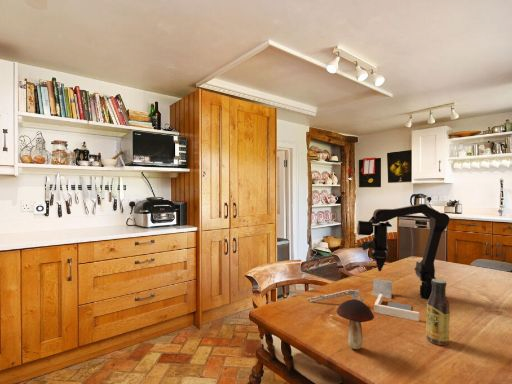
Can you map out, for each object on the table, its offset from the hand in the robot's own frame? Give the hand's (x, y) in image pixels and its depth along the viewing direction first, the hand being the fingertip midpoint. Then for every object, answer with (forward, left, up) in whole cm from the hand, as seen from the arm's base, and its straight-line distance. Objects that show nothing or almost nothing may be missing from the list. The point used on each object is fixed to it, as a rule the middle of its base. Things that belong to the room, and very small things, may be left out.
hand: (380, 268), depth 134 cm
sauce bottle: (-22, +37, -12) cm, 44 cm away
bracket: (+15, +23, -13) cm, 30 cm away
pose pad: (-9, +15, -12) cm, 21 cm away
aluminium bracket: (-1, +1, -12) cm, 12 cm away
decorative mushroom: (0, +55, -12) cm, 56 cm away
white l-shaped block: (-9, +16, -12) cm, 22 cm away
